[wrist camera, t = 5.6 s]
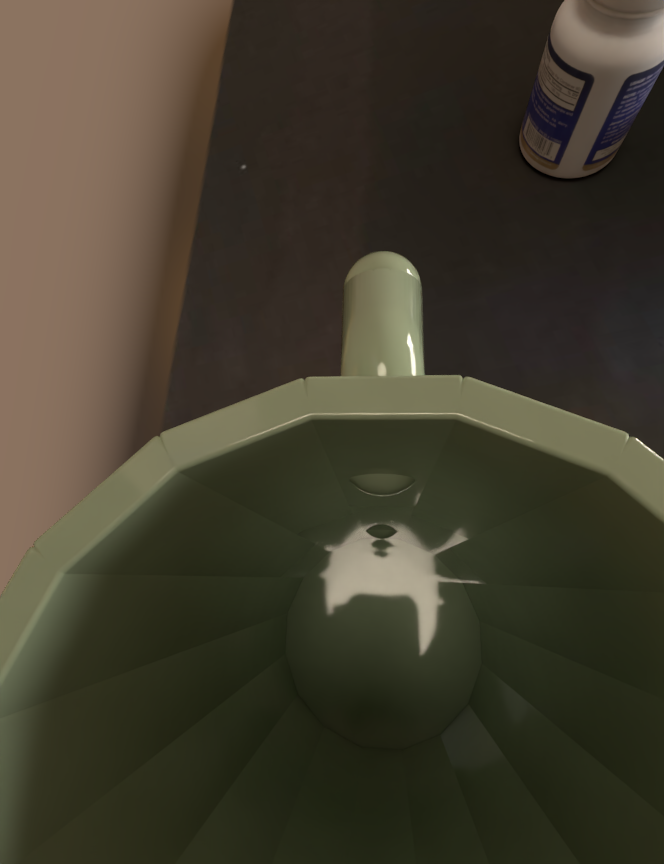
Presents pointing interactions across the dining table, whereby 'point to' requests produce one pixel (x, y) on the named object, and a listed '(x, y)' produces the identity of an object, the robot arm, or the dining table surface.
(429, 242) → the dining table surface
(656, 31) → the pill bottle
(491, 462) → the green faceted mug
